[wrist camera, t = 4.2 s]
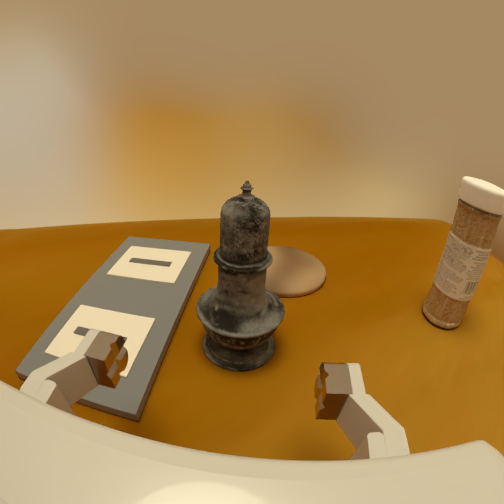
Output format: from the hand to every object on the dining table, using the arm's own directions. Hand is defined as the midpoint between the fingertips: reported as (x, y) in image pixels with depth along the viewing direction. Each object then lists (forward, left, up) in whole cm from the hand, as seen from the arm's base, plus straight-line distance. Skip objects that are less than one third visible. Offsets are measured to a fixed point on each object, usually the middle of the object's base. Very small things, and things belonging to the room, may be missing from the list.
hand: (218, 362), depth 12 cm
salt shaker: (0, +8, -7) cm, 11 cm away
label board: (-10, +11, -7) cm, 16 cm away
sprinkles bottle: (+19, +13, -7) cm, 24 cm away
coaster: (+3, +19, -7) cm, 21 cm away
